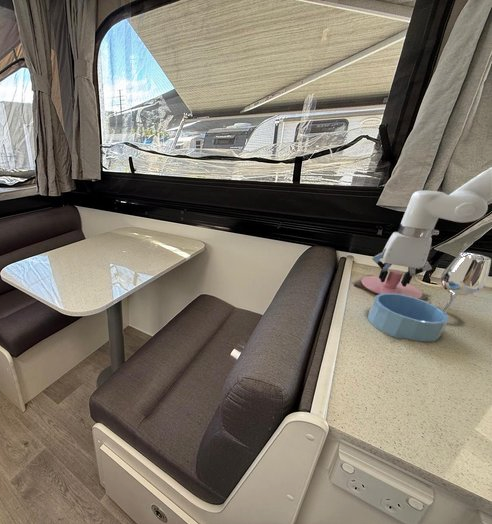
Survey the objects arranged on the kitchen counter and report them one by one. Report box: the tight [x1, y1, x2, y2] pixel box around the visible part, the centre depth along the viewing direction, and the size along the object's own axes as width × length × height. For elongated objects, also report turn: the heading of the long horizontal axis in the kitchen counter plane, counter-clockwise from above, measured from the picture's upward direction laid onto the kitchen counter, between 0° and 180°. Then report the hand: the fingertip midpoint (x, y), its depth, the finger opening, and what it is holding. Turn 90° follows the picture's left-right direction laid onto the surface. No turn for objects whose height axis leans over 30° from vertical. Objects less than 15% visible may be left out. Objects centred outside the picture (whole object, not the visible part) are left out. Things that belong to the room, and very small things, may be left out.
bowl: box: [367, 293, 450, 343], centre depth 74 cm, size 15×15×6 cm
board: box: [353, 280, 428, 301], centre depth 92 cm, size 16×12×1 cm
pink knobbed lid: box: [360, 269, 423, 299], centre depth 91 cm, size 16×16×7 cm
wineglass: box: [439, 252, 492, 314], centre depth 74 cm, size 8×8×20 cm
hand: (392, 282), depth 91 cm, fingers open, 4 cm apart
